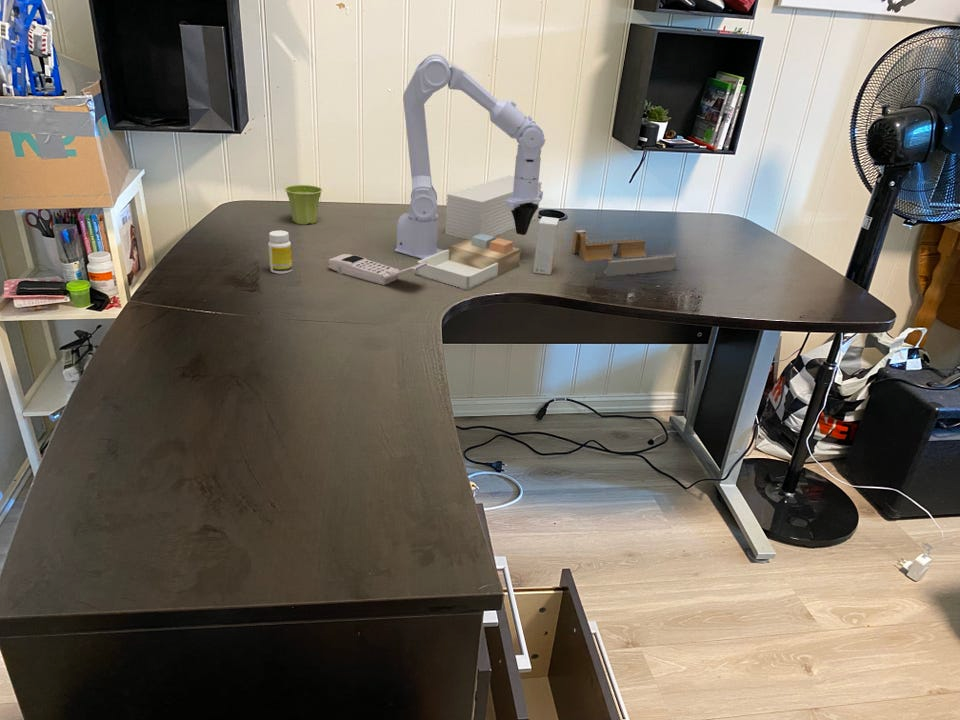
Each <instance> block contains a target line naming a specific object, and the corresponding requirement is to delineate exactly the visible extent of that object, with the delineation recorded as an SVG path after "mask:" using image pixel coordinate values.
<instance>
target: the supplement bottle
mask: <svg viewBox="0 0 960 720" xmlns="http://www.w3.org/2000/svg"><path fill="white" fill-rule="evenodd" d="M268 235H269V237H268V238H269V241H268V243H267V245H268V246H267V247H268V261H269V263H268V264H269V269H270V270H269V271H270V272H272V273H274V274H278V275H279V274H280V275H284V274H289V273H291V272H292V271H293V255H292V242H291V241H290V235H289V232H288V231H285V230H272V231H270V232H269V233H268Z"/></svg>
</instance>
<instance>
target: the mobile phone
mask: <svg viewBox="0 0 960 720" xmlns="http://www.w3.org/2000/svg"><path fill="white" fill-rule="evenodd" d="M427 264H428V262H424V263H421V264H418V265H416V264H415V265H413V266H410V267H407V268H403V269H401V270H400V269H399V268H394V267H391V266H388V265H385V264H383V263H380V262H376V261H373V260H369V259H367V258H366V257H364V256H360V255H354V254H349V253H348V254H347V253H343V254H340V255H337V256H335V257H332V258H329V259H328V267H329V269H331V270H333V271H335V272H337V273H338V274H339V275H342V274H343V275H346V276H349V277H354V278H356V279H361V280H364V281H367V282H372V283H374V284H379V285H381V284H382V285H381V286H385V284H386V285H388V284H390V283H392V282H394V281H397V280H398V277H399V276H401V275H404V274H407V273H410V272H412V271H416V269H418V268H420V267H422V266H425V265H427ZM396 279H397V280H396Z"/></svg>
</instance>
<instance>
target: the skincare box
mask: <svg viewBox="0 0 960 720" xmlns="http://www.w3.org/2000/svg"><path fill="white" fill-rule="evenodd" d="M559 223H560V218H557V217H552V216H551V217H549V216H543V215H542V217H541V218H540V219H539V222H538V224H537V225H538V226H537V234H536V236H537V237H536V242H535V243H536V244H535V253H534V259H533V260H534V261H533V268H532V269H533V270H532V272H533V274H541V275H550V276H551V275H552V271H553V268H554V262H555V255H556V248H557V239H558V233H559Z"/></svg>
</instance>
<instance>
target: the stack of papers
mask: <svg viewBox="0 0 960 720" xmlns="http://www.w3.org/2000/svg"><path fill="white" fill-rule="evenodd" d="M513 186H514V175H507V176H504V177H501V178H496V179H493V180H490V181H486V182H483V183H480V184H477V185H473V186H470V187H467V188H463V189H460V190H457V191H453V192H449V193H447V194H446V214H445V215H446V216H445V233H446V234H445V235H448V234H449V236H452V235H453V237H456V236H457V238H460V237H461V238H460V239H464V238H465V240H467V239H471V238H472V237H473V236H476V235H478V234H485V235H489V236H494V237H496V236H498V234H499V235H501V234H503V232H504V233H506V232H508V231H510V230H509V229H511V230H513V229H515V228H514V227H515V221H514V217H513V214H512V212H511V210H508V209H505V201H506V200H508V199H509V198H510V197H511V195H512V194H513ZM541 189H542V181H538V191H542V190H541ZM533 204H537V205H538V209H537V210H536V212H535V213H534V215H533V217H532V219H531V222H532V221H534V219H535V220H537V219H539V209H540V202H533ZM512 228H513V229H512ZM507 230H508V231H507ZM505 231H506V232H505Z"/></svg>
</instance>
